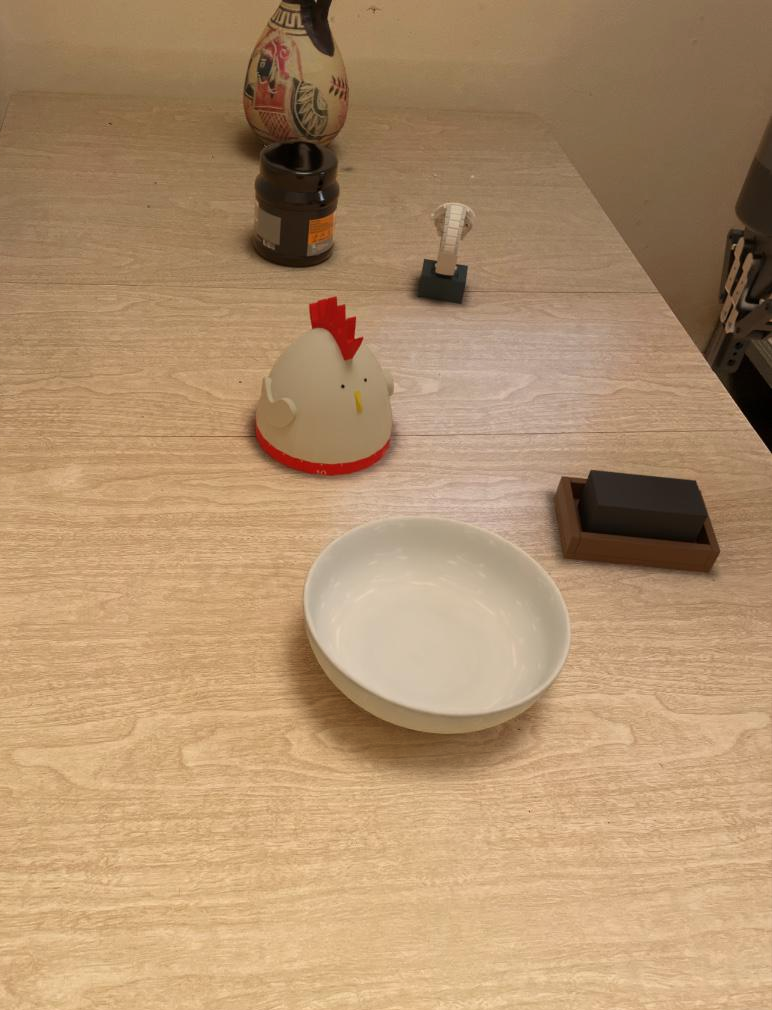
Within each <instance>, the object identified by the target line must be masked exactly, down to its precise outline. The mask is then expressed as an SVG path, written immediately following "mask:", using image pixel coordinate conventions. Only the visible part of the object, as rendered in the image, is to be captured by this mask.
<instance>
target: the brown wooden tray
mask: <svg viewBox="0 0 772 1010" xmlns="http://www.w3.org/2000/svg"><path fill="white" fill-rule="evenodd" d="M586 481H587V478H586V477H585V478H584V477H576V476H575V477H574V476H565V475H561V477H560V479H559V482H558V486H557V488H556V491H555V493H554V497H553V499H554V505H555V511H556V518H557V523H558V529H559V530H558V531H559V535H560V541H561V547H562V548H561V549H562V553H563V558H564V559H568V560H579V561H586V562H587V561H589V562H597V563H598V562H599V563H607V564H608V563H610V564H619V565H626V566H627V565H628V566H638V567H647V568H648V567H649V568H657V569H668V570H678V571H688V572H698V573H708V574H709V573H710V572H711V571H712V569H713V567H714V565H715V563H716V562H717V559H718V557H719V556H720V554H721V549H720V545H719V543H718V539H717V536H716V532H715V530H714V527H713V524H712V521H711V518H710V514H709V511H708V509H707V505H706V502H705V500H704V496H703V493H702V491H701V489H699V491H700V494H701V497H702V500H703V503H704V506H705V509H706V512H707V515H708V516H707V518H706V520H705V522H704V524H703V526H702V528H701V530H700V532H699V534H698V536H697V538H696V540H695V542H694V543H686V542H676V541H667V540H657V539H647V538H637V537H627V536H617V535H607V534H597V533H588V532H582V527H581V522H580V516H579V511H578V506H577V505H578V503H579V500H580V497H581V495H582V492H583V489H584V486H585V484H586Z"/></svg>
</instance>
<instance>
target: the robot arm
mask: <svg viewBox="0 0 772 1010" xmlns="http://www.w3.org/2000/svg"><path fill="white" fill-rule="evenodd" d="M734 213H735V216H736V218H737V219H738V221H739V222H740V223H741V224H742V225H743V226H744V229H743V228H740V229H739V228H730V229H729V231H728V233H727V235H726V241H725V249H724V255H723V256H724V257H723V262H722V269H721V275H720V276H721V277H720V284H719V291H718V295H717V296H718V297H717V302H718V304H719V305H723V306H722V309H721V312H720V317H719V319H720V322H721V325H720V327H719V330H718V331H717V334H716V337H715V339H714V341H713V344H712V346H711V349H710V351H709V354H708V355H707V362H708V364H709V366H710V369H711V371H712V372H714V373H720V374H721V373H722V374H734V373H735V372H737V371H738V369H739V367H740V365H741V363H742V361H743V359H744V356H745V354H746V351H747V349H748V347H749V345H750V343H751V340H753V341H760V342H761V341H762V342H763V341H765V342H767V341H768V340H770V339H771V338H772V112H771V113H770V116H769V118H768V120H767V123H766V125H765V127H764V130H763V133H762V135H761V138H760V140H759V143H758V146H757V148H756V151H755V154H754V156H753V159H752V161H751V163H750V166H749V169H748V171H747V174H746V176H745V179H744V182H743V184H742V187H741V188H740V192H739V194H738V196H737V199H736V202H735V205H734Z"/></svg>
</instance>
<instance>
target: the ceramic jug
mask: <svg viewBox="0 0 772 1010" xmlns="http://www.w3.org/2000/svg"><path fill="white" fill-rule="evenodd" d="M332 2H333V0H281V1H280V3H279V5H278V6H277V8H276V10H275V11H274V13H273V15H271V17H270V18H269V20H268V21H267V24H266V25H265V27H264V29H263V30H262V33H261V34H260V37H259V38H258V40H257V41H256V43H255V46H254V47H253V50H252V52H251V54H250V57H249V60H248V64H247V69H246V71H245V72H246V73H245V77H244V84H243V91H242V105H243V110H244V116H245V119H246V122H247V123H248V125H249V127H250V128H251V130H252V131H253V132H254V134H255V135H256V137H257V138H258V140H259V141H260V142H261V144H262V143H263V144H264V145H265V146H268V145H270V144H273V143H276V142H281V141H304V142H310V143H314V144H318V145H321V146H323V147H325V148H327V147H328V146H329V145H330V144H331V143H332V142H333V141H334V140H335V139H336V138H337V136H339V134H340V132H341V131H342V129H343V128H344V125H345V122H346V119H347V116H348V110H349V102H350V101H349V100H350V99H349V98H350V96H349V95H350V94H349V93H350V88H349V79H348V75H347V71H346V66H345V62H344V59H343V56H342V53H341V50H340V48H339V46H338V43H337V41H336V39H335V37H334V34H333V32H332V29H331V27H330V23H329V19H328V18H329V12H330V7H331V5H332ZM263 144H262V145H263ZM264 148H265V147H264V146H263V149H264Z"/></svg>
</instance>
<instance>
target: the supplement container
mask: <svg viewBox="0 0 772 1010" xmlns="http://www.w3.org/2000/svg"><path fill="white" fill-rule="evenodd" d="M258 163H259V168H258V170H259V173H258V174H257V175H256V177H255V179H254V185H253V187H254V192H255V193H254V220H253V221H254V223H253V234H252V242H253V246H254V248H255V250H256V251H257V253H258V254H259V255H261V256H262V258H264V259H265V260H267V261H270V262H271V263H275V264H278V265H281V266H286V267H287V266H288V267H294V268H295V267H300V268H301V267H310V266H315V265H317V264H320V263H322V262H324V261H326V260H327V259H328V258H329V257H331V255H332V253H333V251H334V248H335V235H336V223H337V214H338V202H339V197H340V193H341V187H340V184H339V181H338V179H337V178H338V171H339V158H338V156H337V155H336V154H335V153H334V152H333V151H332V150H331V149H330V148H327V147H326V148H325V147H323V146H321V145H318V144H314V143H310V142H304V141H281V142H276V143H273V144H270V145H268V146H266V147H265V148H264V147H263V148H262V149H261V150H260V152H259V162H258Z"/></svg>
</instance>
